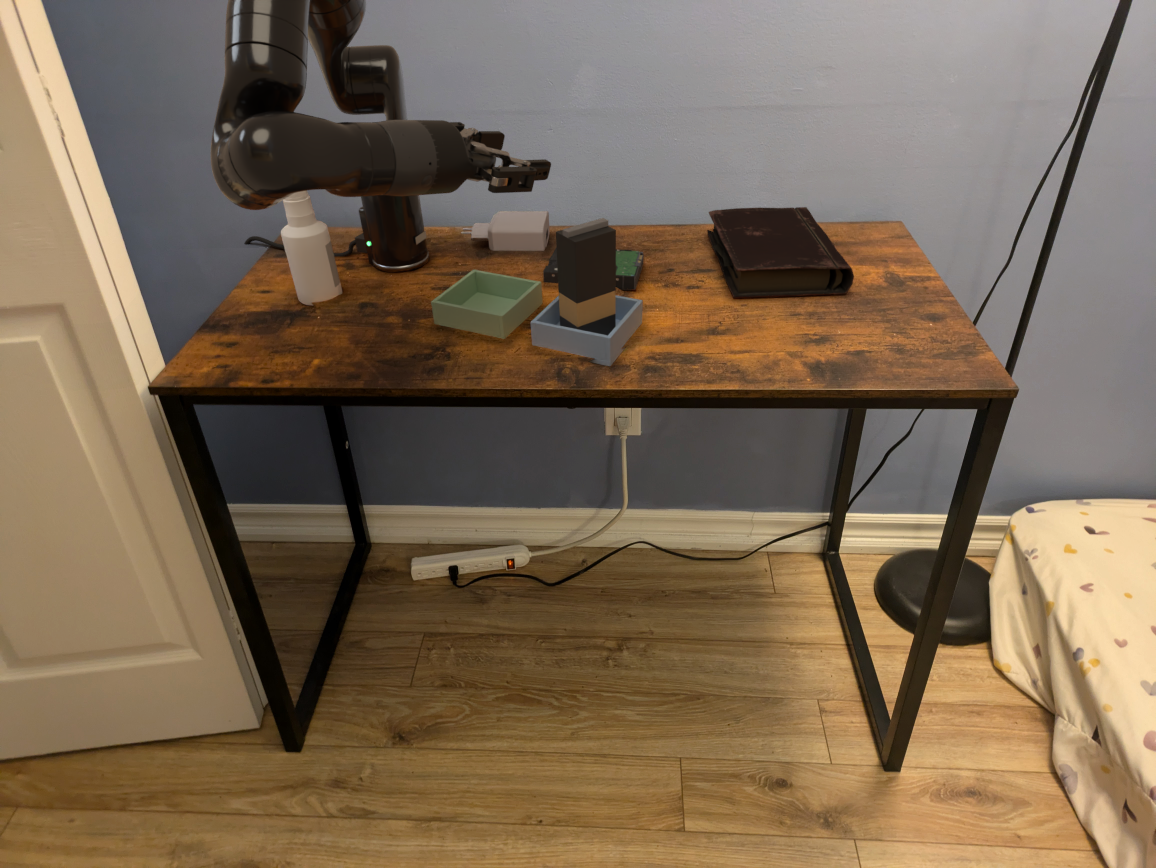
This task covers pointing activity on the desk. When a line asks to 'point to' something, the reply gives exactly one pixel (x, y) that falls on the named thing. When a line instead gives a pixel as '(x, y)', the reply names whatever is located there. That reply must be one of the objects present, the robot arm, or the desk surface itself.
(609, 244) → the coffee bag
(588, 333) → the right bin
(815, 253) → the diary
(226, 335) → the desk surface
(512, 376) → the desk surface
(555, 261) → the disk drive
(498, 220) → the charger
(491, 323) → the left bin
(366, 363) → the desk surface
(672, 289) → the desk surface
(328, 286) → the spray bottle
